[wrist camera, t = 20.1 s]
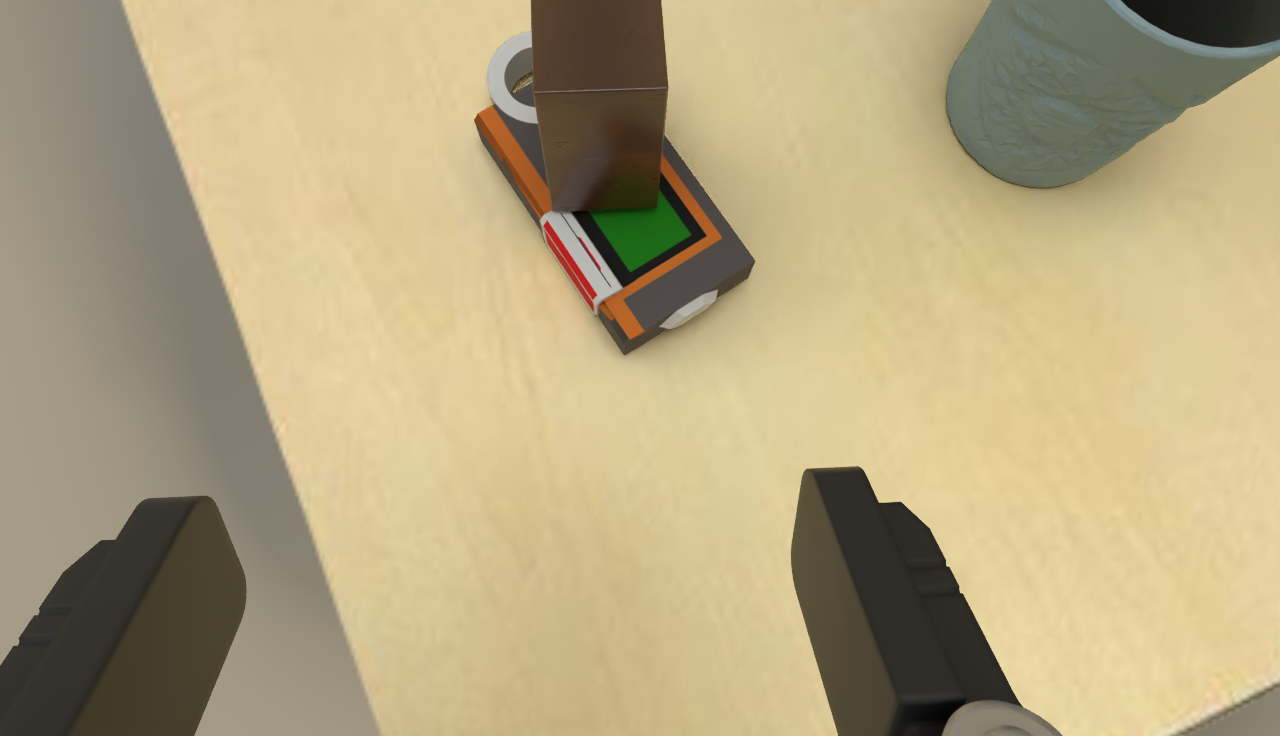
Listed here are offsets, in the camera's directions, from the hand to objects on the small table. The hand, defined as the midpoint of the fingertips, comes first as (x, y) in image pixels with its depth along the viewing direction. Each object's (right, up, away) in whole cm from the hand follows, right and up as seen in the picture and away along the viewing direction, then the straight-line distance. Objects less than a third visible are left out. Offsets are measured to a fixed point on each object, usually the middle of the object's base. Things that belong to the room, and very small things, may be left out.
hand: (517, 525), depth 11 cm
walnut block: (0, +11, +23) cm, 25 cm away
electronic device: (0, +10, +26) cm, 28 cm away
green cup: (+21, +15, +28) cm, 38 cm away
